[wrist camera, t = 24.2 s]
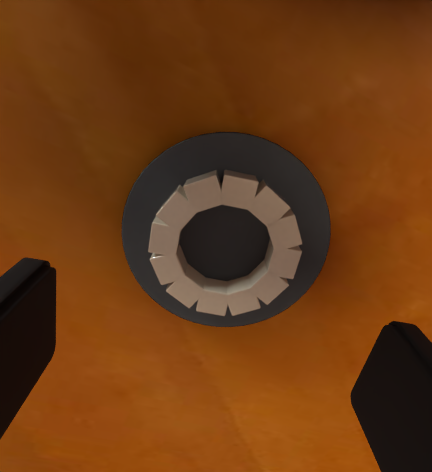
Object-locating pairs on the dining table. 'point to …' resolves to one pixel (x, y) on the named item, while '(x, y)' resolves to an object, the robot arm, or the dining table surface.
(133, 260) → the coaster
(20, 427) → the dining table surface
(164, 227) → the ring
